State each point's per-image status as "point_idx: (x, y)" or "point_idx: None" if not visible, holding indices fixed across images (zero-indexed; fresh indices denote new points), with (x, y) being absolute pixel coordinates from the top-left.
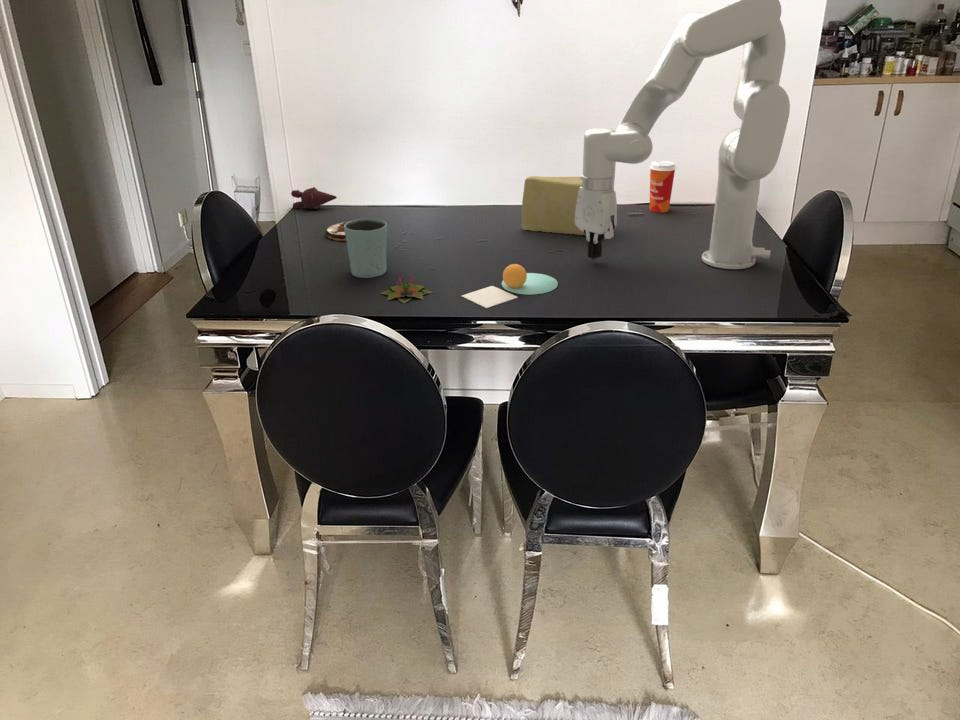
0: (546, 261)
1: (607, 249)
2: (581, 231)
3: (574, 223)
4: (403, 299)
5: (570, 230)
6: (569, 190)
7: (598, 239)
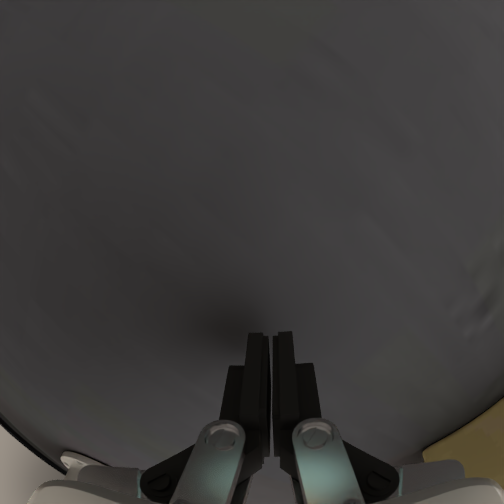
0: (464, 149)
1: (345, 438)
2: (473, 431)
3: (500, 433)
4: None
5: (500, 410)
6: None
7: (194, 459)
